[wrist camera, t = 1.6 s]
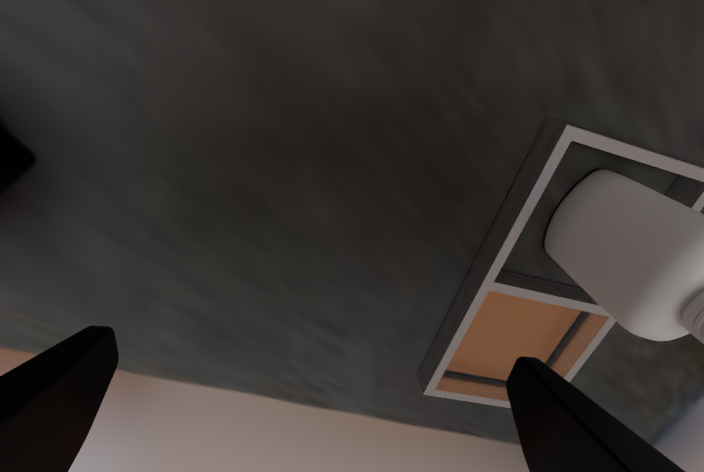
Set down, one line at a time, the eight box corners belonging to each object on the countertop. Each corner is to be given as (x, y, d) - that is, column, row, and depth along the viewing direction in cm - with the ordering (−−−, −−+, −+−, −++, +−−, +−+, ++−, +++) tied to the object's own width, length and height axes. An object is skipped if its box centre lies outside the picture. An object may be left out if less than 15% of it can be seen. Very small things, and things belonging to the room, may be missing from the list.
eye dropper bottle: (640, 209, 22) (921, 368, 12) (554, 265, 24) (736, 450, 13) (611, 155, 21) (909, 283, 10) (520, 218, 22) (698, 387, 12)
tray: (533, 392, 29) (545, 413, 28) (417, 373, 28) (423, 394, 26) (696, 165, 21) (726, 176, 20) (547, 117, 20) (567, 124, 18)
